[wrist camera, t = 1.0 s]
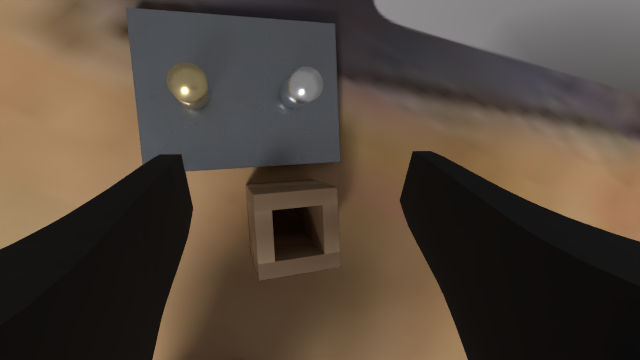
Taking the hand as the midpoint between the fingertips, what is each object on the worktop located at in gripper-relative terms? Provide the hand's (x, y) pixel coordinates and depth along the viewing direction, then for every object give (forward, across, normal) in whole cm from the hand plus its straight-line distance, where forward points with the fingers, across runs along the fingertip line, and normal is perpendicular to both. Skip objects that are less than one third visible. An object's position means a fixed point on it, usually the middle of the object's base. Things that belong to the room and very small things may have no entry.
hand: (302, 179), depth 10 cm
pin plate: (+12, +3, +2) cm, 12 cm away
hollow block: (+8, 0, +9) cm, 12 cm away
